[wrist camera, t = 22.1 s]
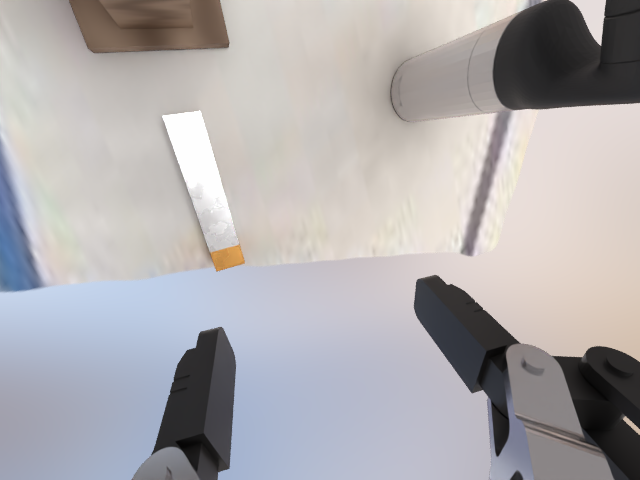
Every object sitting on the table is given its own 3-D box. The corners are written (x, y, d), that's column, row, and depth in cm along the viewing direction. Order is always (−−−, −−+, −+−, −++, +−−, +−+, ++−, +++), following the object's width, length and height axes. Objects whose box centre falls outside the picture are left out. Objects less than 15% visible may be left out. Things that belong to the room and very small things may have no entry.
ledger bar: (201, 114, 33) (200, 111, 30) (242, 254, 41) (245, 263, 38) (166, 118, 32) (162, 115, 29) (215, 261, 40) (216, 271, 37)
